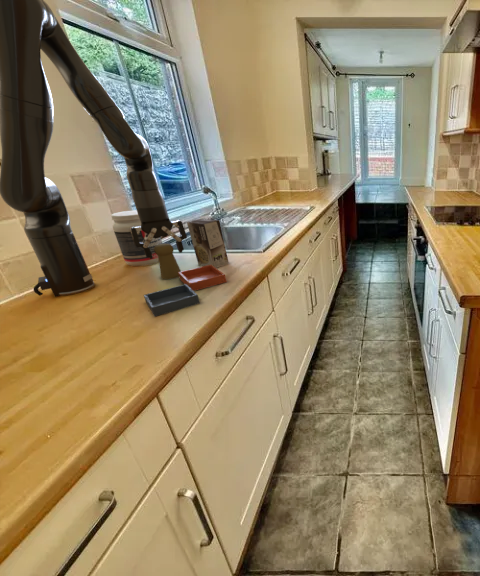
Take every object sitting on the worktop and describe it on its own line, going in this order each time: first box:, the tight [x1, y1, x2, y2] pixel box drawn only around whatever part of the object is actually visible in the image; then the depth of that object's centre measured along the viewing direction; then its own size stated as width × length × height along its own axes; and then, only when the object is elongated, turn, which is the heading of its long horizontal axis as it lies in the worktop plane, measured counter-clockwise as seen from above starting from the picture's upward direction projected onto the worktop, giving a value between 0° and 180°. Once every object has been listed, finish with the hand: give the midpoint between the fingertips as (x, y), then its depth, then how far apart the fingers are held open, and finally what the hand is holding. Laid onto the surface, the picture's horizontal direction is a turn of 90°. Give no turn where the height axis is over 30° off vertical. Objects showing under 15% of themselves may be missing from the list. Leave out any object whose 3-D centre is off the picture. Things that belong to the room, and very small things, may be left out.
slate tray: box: [143, 283, 201, 317], centre depth 88 cm, size 11×11×3 cm
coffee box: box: [186, 218, 230, 269], centre depth 114 cm, size 9×6×16 cm
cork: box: [154, 242, 182, 280], centre depth 105 cm, size 6×6×11 cm
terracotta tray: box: [178, 265, 228, 292], centre depth 102 cm, size 10×13×3 cm
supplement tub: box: [110, 209, 163, 267], centre depth 116 cm, size 13×13×18 cm
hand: (166, 255), depth 104 cm, fingers open, 8 cm apart
